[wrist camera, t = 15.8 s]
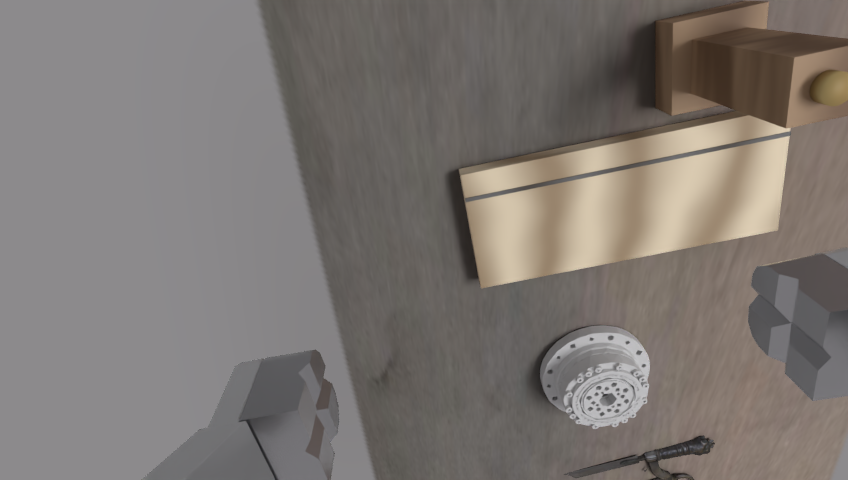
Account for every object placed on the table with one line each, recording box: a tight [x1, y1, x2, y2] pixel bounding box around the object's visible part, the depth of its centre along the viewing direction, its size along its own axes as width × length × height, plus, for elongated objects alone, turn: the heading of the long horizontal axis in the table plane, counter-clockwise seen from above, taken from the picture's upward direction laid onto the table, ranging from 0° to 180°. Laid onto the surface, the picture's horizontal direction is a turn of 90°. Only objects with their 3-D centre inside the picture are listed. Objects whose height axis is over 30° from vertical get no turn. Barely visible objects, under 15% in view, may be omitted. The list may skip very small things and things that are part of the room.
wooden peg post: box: [655, 1, 848, 129], centre depth 30 cm, size 6×6×13 cm
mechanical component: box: [540, 325, 650, 429], centre depth 46 cm, size 10×4×10 cm
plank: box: [459, 111, 791, 288], centre depth 39 cm, size 24×10×2 cm, turn 102°
